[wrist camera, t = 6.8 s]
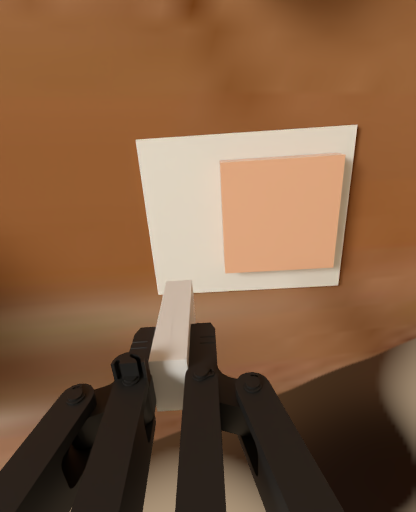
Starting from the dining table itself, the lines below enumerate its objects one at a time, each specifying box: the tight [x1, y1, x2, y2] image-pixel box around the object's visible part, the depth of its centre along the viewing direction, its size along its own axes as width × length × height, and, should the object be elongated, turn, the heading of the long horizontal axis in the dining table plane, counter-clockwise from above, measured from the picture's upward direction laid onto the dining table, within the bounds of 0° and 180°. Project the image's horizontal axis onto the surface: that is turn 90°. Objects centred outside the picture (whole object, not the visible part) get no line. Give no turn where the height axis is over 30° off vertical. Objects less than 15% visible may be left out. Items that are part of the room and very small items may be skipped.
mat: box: [136, 125, 357, 295], centre depth 34 cm, size 22×18×1 cm
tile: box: [220, 153, 346, 273], centre depth 33 cm, size 2×12×12 cm
